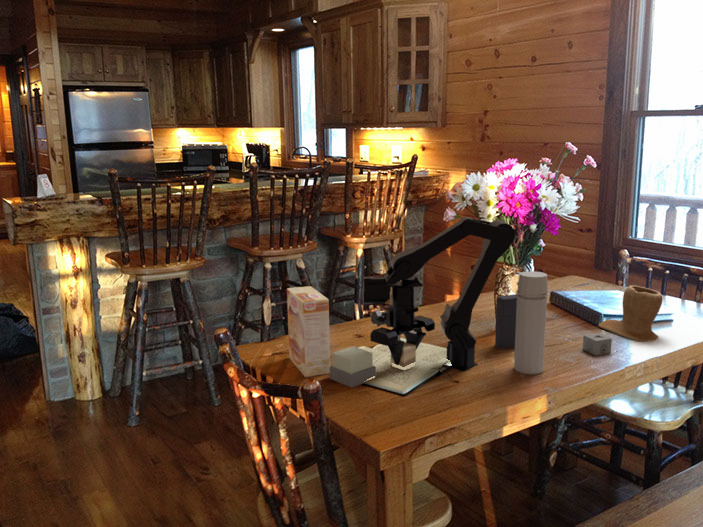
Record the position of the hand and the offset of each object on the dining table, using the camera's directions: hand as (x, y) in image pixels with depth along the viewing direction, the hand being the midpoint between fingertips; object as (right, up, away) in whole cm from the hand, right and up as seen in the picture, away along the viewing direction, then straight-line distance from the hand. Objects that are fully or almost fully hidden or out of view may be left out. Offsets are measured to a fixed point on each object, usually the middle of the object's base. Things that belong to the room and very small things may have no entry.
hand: (403, 361), depth 164 cm
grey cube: (+53, +1, +8) cm, 53 cm away
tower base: (-13, -4, -6) cm, 15 cm away
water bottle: (+32, -2, -3) cm, 32 cm away
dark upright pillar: (+32, +2, +14) cm, 35 cm away
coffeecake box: (-24, -2, +3) cm, 25 cm away
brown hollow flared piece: (+68, +4, +22) cm, 72 cm away
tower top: (-13, 0, -7) cm, 15 cm away
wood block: (0, -2, 0) cm, 2 cm away
